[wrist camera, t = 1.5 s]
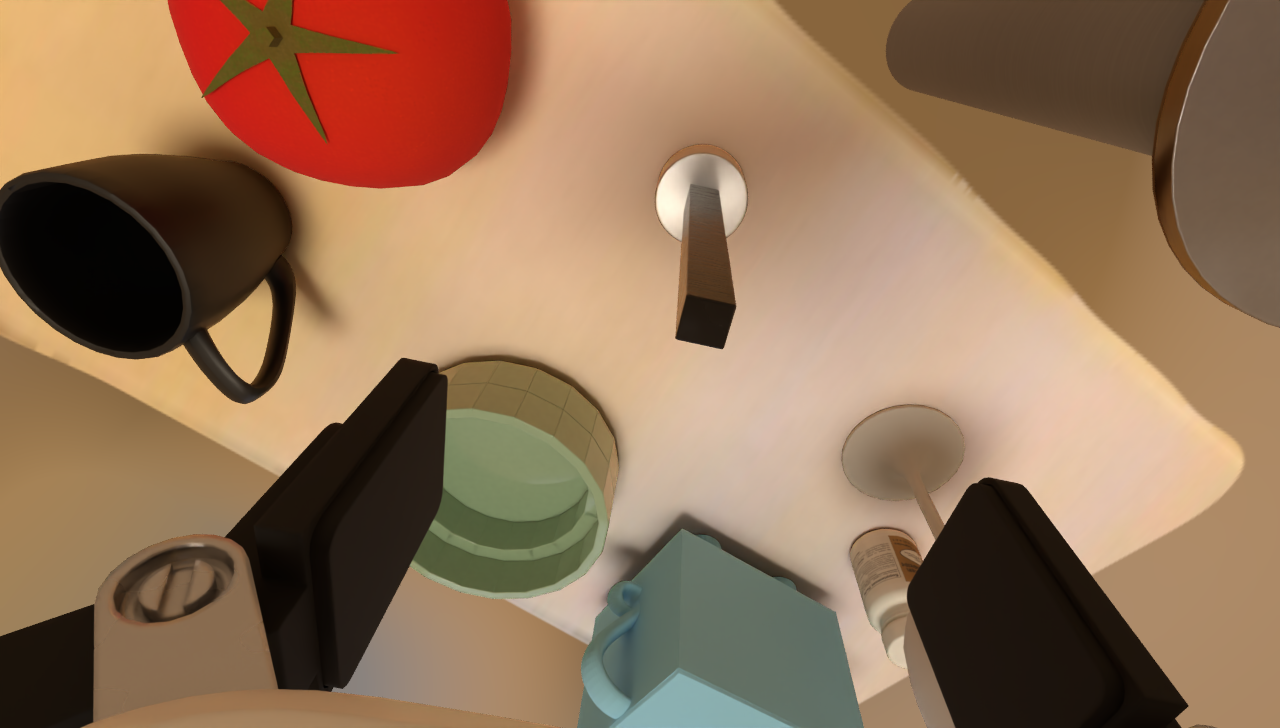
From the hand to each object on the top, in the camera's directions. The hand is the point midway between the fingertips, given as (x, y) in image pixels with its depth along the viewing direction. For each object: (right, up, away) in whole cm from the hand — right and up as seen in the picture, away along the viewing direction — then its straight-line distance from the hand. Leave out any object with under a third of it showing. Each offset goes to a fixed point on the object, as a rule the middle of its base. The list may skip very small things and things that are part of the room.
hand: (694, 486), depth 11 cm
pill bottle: (+16, -11, +31) cm, 36 cm away
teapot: (+6, -16, +35) cm, 38 cm away
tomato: (-12, +18, +18) cm, 28 cm away
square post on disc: (+2, +11, +20) cm, 23 cm away
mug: (-22, +9, +23) cm, 33 cm away
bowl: (-9, -4, +29) cm, 31 cm away
